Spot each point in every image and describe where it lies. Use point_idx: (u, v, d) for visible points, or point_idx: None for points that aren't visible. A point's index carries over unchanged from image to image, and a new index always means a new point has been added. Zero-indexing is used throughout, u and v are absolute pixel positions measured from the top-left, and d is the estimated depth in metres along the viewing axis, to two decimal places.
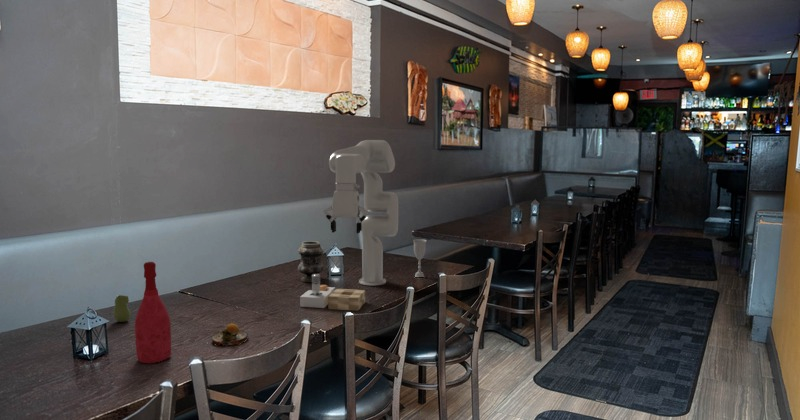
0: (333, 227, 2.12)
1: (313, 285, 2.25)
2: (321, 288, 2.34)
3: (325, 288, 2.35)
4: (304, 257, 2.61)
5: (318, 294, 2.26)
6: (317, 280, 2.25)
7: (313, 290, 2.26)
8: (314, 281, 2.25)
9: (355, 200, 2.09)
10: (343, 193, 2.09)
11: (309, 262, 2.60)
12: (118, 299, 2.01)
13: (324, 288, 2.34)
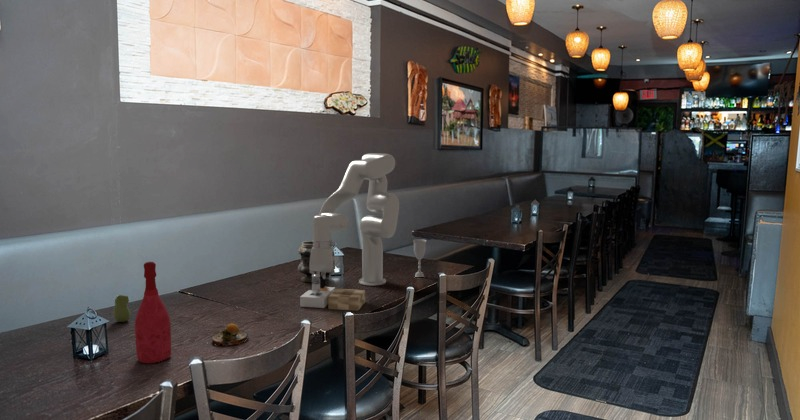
0: (320, 283, 2.34)
1: (313, 285, 2.25)
2: (321, 289, 2.34)
3: (325, 289, 2.35)
4: (304, 257, 2.61)
5: (318, 294, 2.26)
6: (317, 280, 2.25)
7: (313, 290, 2.26)
8: (314, 281, 2.25)
9: (330, 256, 2.31)
10: (319, 250, 2.31)
11: (309, 262, 2.60)
12: (118, 299, 2.01)
13: (324, 290, 2.34)
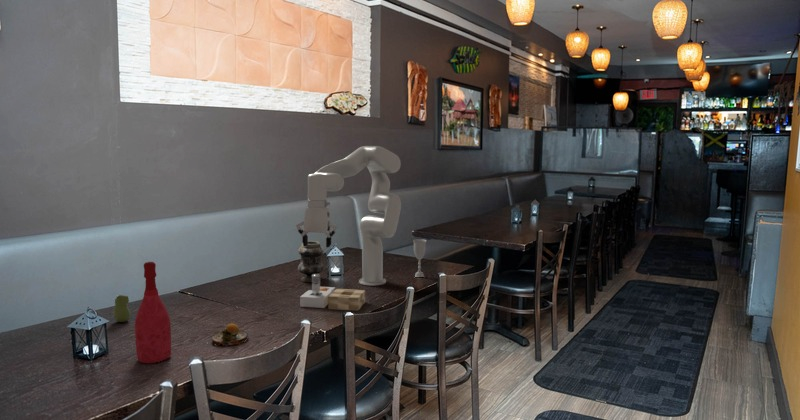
0: (304, 241, 2.26)
1: (313, 285, 2.25)
2: (321, 290, 2.34)
3: (325, 290, 2.35)
4: (304, 257, 2.61)
5: (318, 294, 2.26)
6: (317, 280, 2.25)
7: (313, 290, 2.26)
8: (314, 281, 2.25)
9: (325, 216, 2.23)
10: (314, 209, 2.23)
11: (309, 262, 2.60)
12: (118, 299, 2.01)
13: None
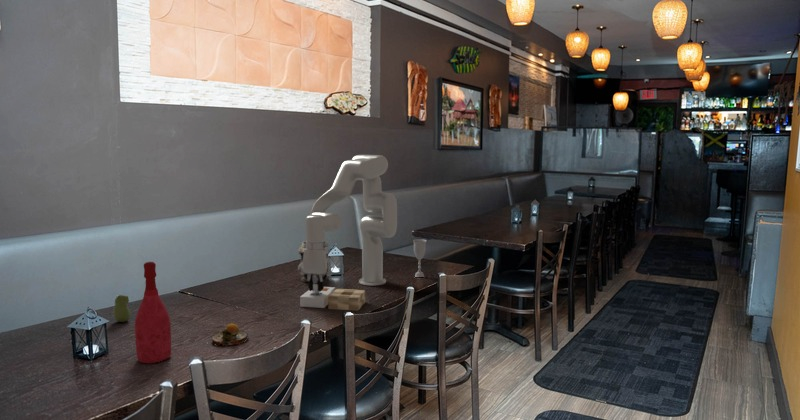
0: (310, 286, 2.25)
1: (313, 285, 2.25)
2: None
3: (325, 290, 2.35)
4: None
5: (318, 294, 2.26)
6: (317, 280, 2.25)
7: (313, 290, 2.26)
8: (314, 281, 2.25)
9: (324, 258, 2.22)
10: (312, 251, 2.22)
11: None
12: (118, 299, 2.01)
13: None
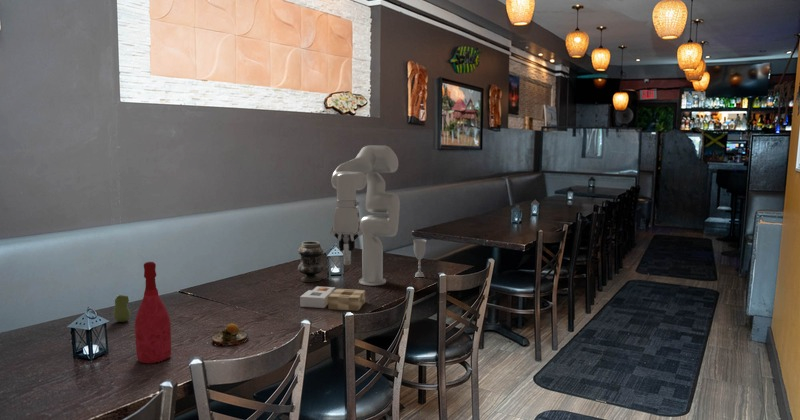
0: (341, 245, 2.21)
1: (344, 245, 2.21)
2: (321, 290, 2.34)
3: (325, 290, 2.35)
4: (304, 257, 2.61)
5: (349, 254, 2.21)
6: (348, 240, 2.21)
7: (344, 250, 2.21)
8: (345, 240, 2.20)
9: (355, 216, 2.18)
10: (344, 210, 2.18)
11: (309, 262, 2.60)
12: (118, 299, 2.01)
13: None
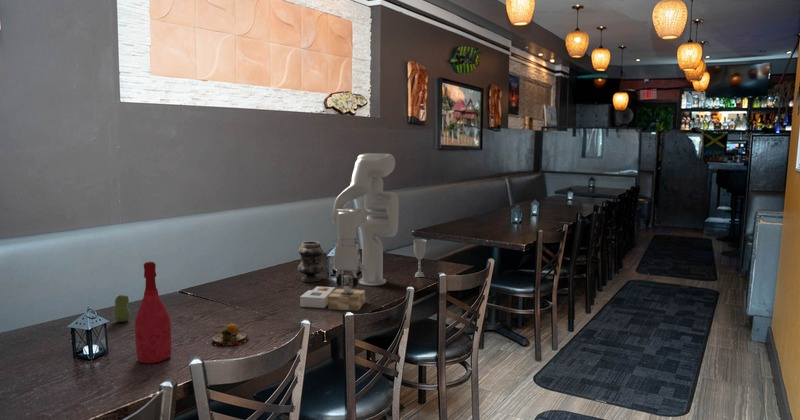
0: (339, 282, 2.23)
1: (344, 287, 2.23)
2: (321, 290, 2.34)
3: (325, 290, 2.35)
4: (304, 257, 2.61)
5: None
6: (349, 282, 2.23)
7: (344, 292, 2.23)
8: (345, 282, 2.23)
9: (355, 254, 2.20)
10: (344, 248, 2.20)
11: (309, 262, 2.60)
12: (118, 299, 2.01)
13: None
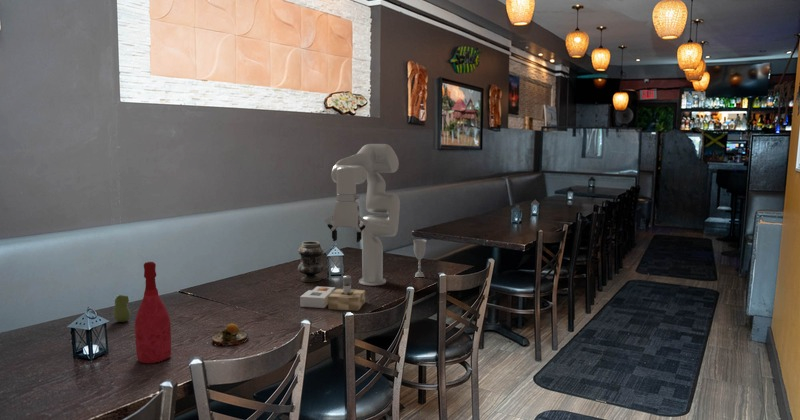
0: (334, 236, 2.21)
1: (344, 287, 2.23)
2: (321, 290, 2.34)
3: (325, 290, 2.35)
4: (304, 257, 2.61)
5: None
6: (348, 282, 2.23)
7: (344, 292, 2.23)
8: (345, 282, 2.23)
9: (355, 210, 2.18)
10: (344, 204, 2.18)
11: (309, 262, 2.60)
12: (118, 299, 2.01)
13: None
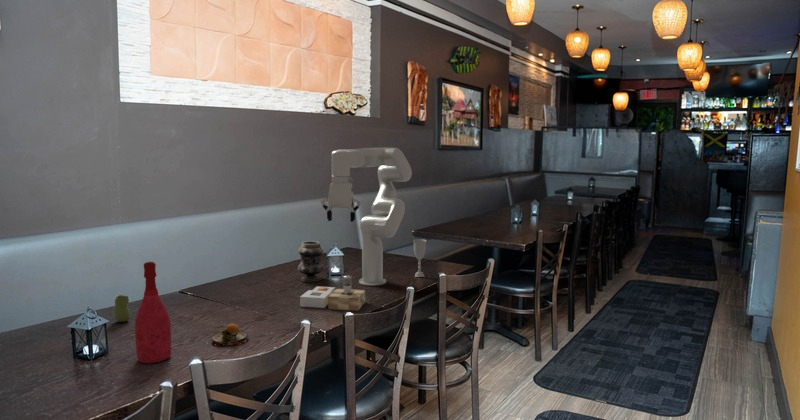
0: (329, 216, 2.34)
1: (345, 287, 2.23)
2: (321, 290, 2.34)
3: (325, 290, 2.35)
4: (304, 257, 2.61)
5: None
6: (349, 282, 2.23)
7: (344, 292, 2.23)
8: (345, 282, 2.23)
9: (349, 191, 2.31)
10: (338, 185, 2.31)
11: (309, 262, 2.60)
12: (118, 299, 2.01)
13: None
